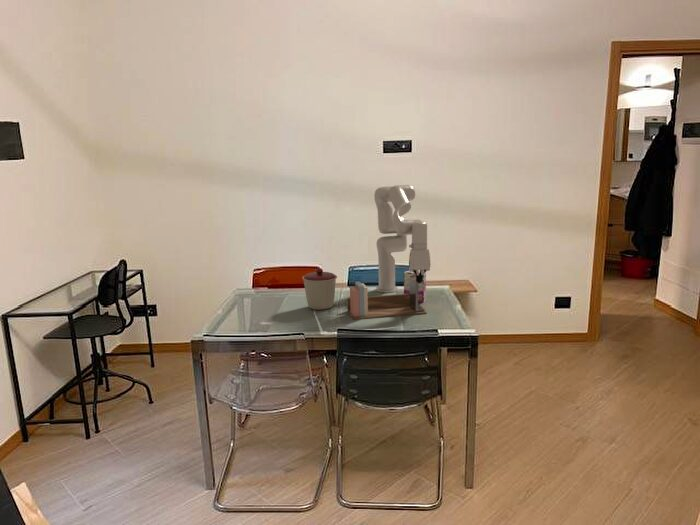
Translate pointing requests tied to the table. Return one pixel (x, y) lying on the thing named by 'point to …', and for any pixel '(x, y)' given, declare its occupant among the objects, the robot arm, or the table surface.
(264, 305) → the table surface
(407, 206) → the robot arm
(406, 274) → the candy bar box
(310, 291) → the canister
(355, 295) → the books
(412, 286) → the bookend
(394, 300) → the shelf
